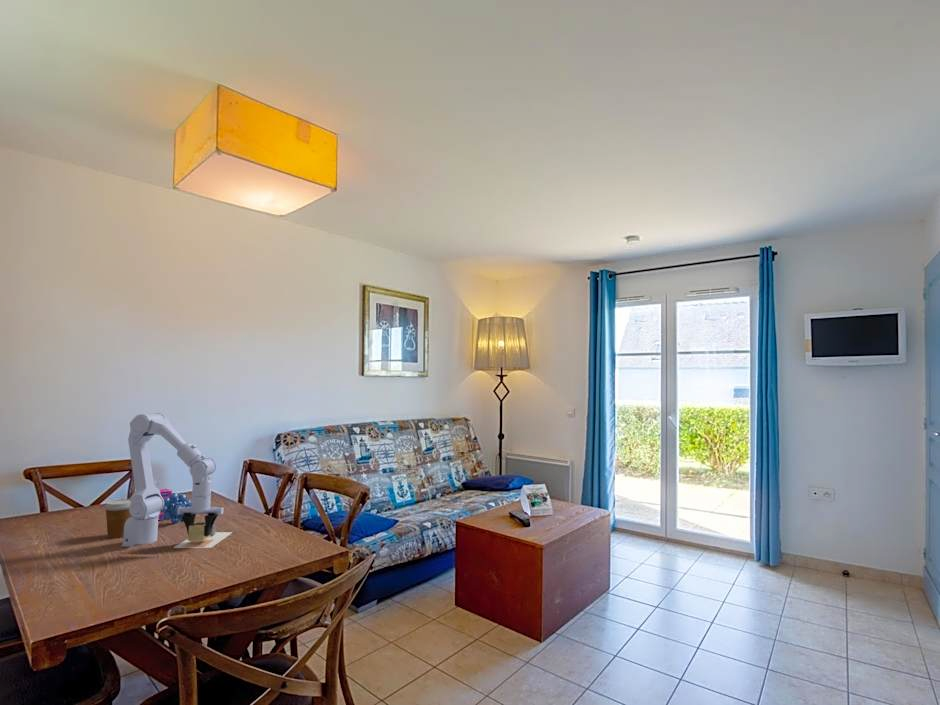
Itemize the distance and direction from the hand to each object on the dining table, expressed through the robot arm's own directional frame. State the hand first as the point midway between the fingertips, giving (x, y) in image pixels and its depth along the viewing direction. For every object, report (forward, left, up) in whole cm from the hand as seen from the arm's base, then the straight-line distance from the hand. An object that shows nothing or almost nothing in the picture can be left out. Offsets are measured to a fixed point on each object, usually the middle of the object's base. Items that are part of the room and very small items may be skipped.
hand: (199, 535), depth 171 cm
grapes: (-21, +28, -4) cm, 35 cm away
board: (0, +5, -3) cm, 6 cm away
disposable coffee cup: (-33, +12, -4) cm, 35 cm away
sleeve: (0, 0, -1) cm, 1 cm away
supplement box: (-31, +35, -4) cm, 47 cm away
